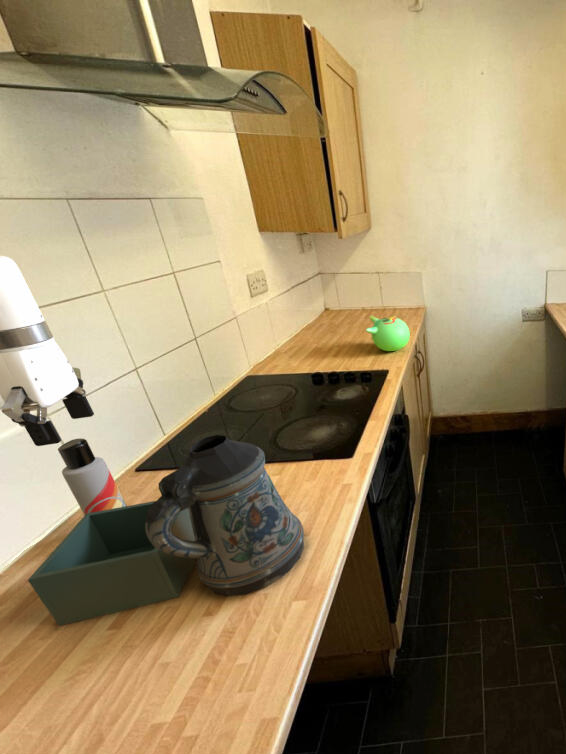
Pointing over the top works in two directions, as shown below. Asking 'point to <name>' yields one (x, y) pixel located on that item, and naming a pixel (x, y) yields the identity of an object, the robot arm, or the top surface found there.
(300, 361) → the top surface
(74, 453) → the lotion bottle
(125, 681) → the top surface
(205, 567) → the beer stein
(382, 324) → the green space hopper
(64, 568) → the bin
